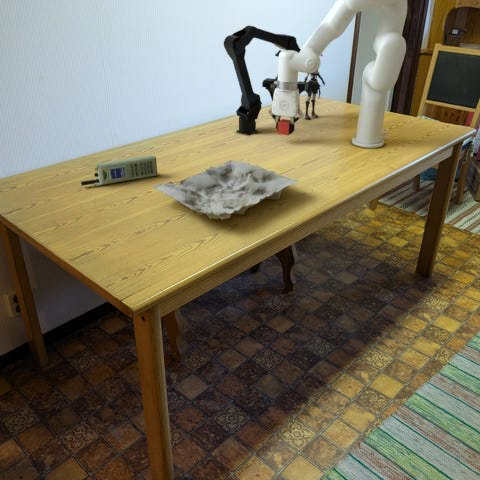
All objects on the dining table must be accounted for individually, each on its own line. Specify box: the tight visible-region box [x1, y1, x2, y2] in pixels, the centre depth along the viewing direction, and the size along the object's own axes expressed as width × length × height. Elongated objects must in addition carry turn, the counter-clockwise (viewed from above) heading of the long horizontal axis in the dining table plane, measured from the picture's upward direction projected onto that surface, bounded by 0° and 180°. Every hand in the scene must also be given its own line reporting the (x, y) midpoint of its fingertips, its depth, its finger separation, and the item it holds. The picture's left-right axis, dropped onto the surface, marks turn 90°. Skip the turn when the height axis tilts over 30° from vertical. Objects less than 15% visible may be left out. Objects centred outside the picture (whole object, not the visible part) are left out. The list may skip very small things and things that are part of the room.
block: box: [277, 118, 291, 136], centre depth 200 cm, size 5×4×5 cm
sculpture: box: [153, 160, 300, 221], centre depth 153 cm, size 38×6×30 cm
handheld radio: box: [80, 155, 159, 187], centre depth 164 cm, size 7×3×25 cm
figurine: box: [303, 53, 326, 120], centre depth 227 cm, size 15×6×30 cm, turn 132°
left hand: (283, 105), depth 218 cm, fingers open, 9 cm apart
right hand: (284, 131), depth 201 cm, fingers closed on block, 4 cm apart
